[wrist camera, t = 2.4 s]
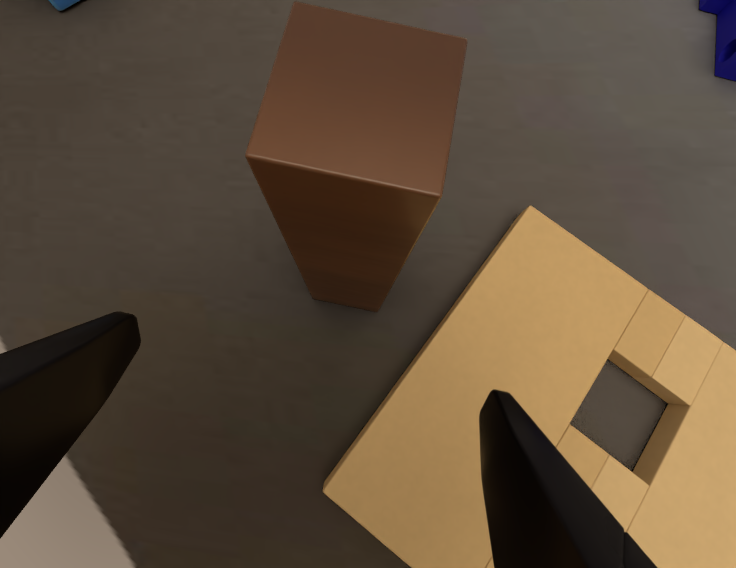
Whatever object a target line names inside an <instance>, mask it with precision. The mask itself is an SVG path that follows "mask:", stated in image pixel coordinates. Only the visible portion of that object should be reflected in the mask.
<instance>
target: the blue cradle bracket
mask: <svg viewBox="0 0 736 568" xmlns="http://www.w3.org/2000/svg"><path fill="white" fill-rule="evenodd" d="M699 10H703V11H706V12H710V13H714V14H717V36H716V60H715V76H719V77H722V78H726V79H730V80H733V81H736V0H700V3H699Z"/></svg>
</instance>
